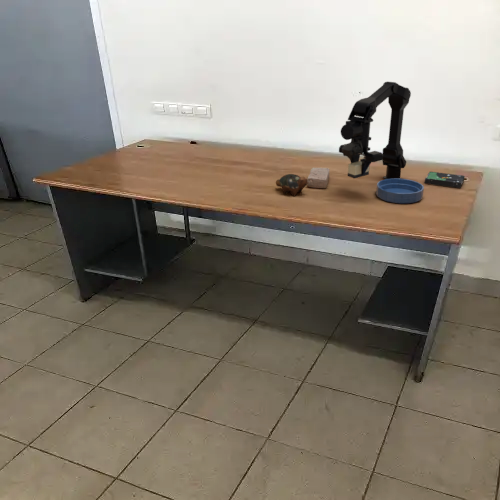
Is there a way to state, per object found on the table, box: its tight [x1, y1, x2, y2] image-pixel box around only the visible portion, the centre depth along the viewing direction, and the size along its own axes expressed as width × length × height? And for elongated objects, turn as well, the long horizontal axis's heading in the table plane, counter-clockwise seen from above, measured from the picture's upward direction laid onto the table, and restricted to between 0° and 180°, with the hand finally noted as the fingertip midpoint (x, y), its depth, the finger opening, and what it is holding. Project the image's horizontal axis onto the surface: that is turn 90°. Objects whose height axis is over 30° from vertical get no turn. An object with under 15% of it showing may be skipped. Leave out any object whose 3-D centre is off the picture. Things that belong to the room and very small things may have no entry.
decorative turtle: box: [275, 173, 308, 197], centre depth 210 cm, size 10×15×8 cm, turn 58°
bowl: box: [375, 178, 425, 205], centre depth 205 cm, size 18×18×4 cm
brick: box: [306, 167, 330, 189], centre depth 221 cm, size 17×8×5 cm, turn 167°
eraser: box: [347, 160, 371, 179], centre depth 202 cm, size 8×4×5 cm, turn 125°
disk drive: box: [424, 171, 466, 189], centre depth 218 cm, size 10×3×15 cm
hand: (358, 173), depth 203 cm, fingers closed on eraser, 4 cm apart
